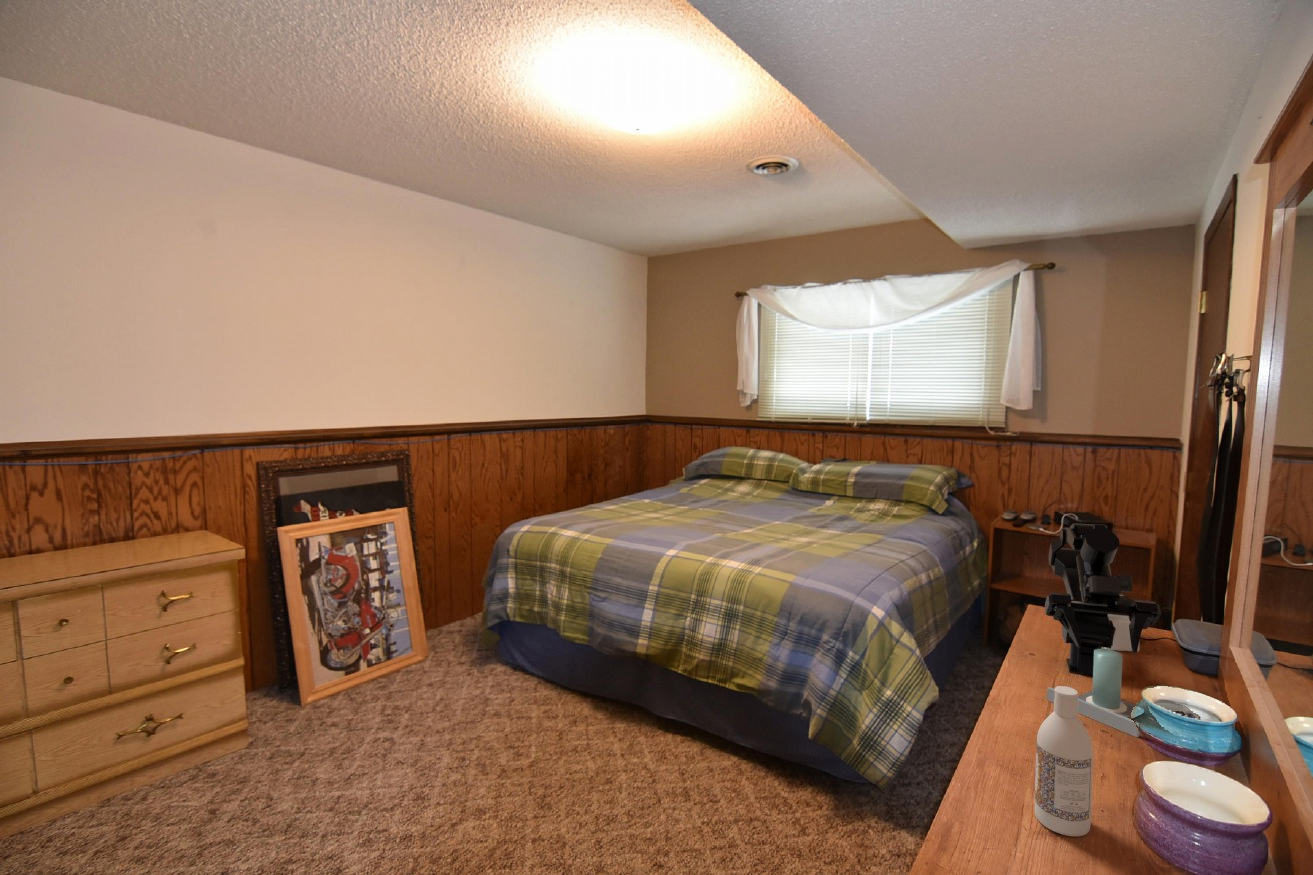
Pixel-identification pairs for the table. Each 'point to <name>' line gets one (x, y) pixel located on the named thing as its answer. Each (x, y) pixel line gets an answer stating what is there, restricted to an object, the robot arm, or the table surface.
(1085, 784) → the bath foam
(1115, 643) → the medicine bottle
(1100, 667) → the teal canister
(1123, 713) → the mat
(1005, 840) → the table surface
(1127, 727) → the low wall
